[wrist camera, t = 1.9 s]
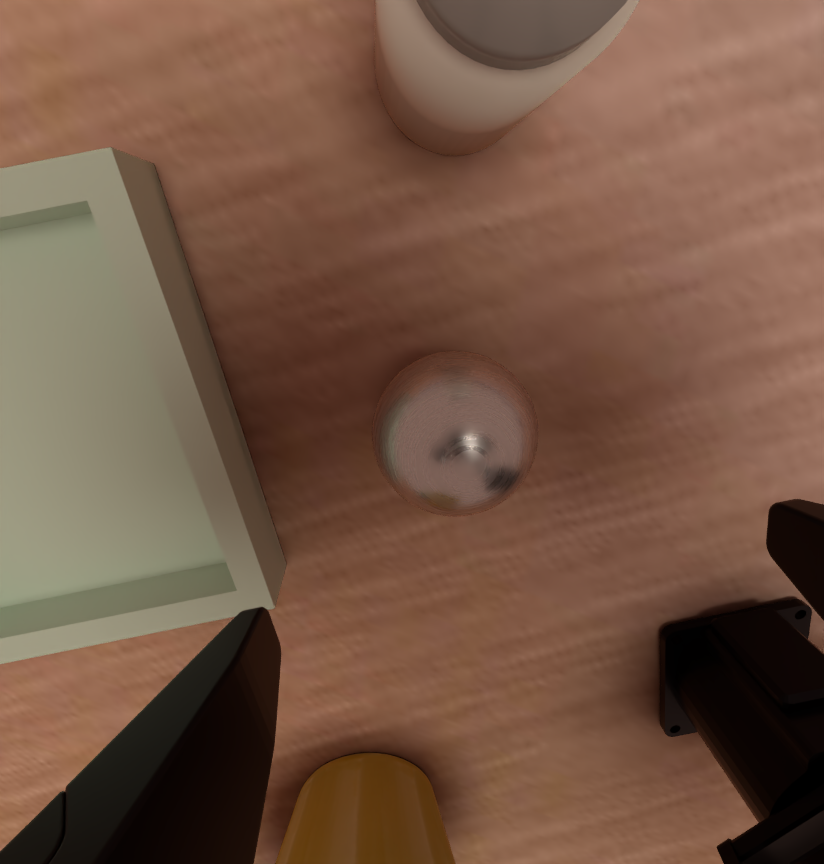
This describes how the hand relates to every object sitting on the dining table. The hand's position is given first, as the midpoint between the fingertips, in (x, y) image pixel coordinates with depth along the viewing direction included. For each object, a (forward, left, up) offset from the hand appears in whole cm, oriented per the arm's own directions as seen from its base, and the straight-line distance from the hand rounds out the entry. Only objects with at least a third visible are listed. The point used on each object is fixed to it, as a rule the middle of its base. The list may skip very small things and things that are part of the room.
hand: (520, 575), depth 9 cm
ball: (0, 0, -9) cm, 9 cm away
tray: (+2, +13, -9) cm, 16 cm away
